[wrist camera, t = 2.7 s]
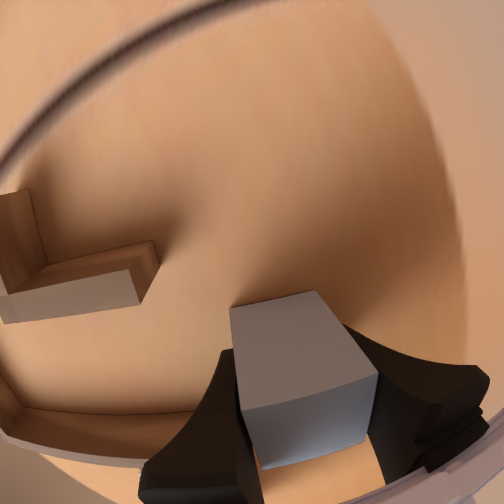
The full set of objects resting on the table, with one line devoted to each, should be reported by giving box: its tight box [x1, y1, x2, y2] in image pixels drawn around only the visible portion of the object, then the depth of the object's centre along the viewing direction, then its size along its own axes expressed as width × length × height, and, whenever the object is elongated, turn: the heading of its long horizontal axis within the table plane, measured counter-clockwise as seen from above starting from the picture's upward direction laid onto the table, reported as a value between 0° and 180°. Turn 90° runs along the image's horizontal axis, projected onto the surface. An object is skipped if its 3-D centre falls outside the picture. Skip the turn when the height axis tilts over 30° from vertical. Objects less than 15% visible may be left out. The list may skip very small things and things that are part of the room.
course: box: [0, 189, 194, 469], centre depth 10 cm, size 15×17×4 cm
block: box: [229, 290, 378, 470], centre depth 10 cm, size 4×4×6 cm
